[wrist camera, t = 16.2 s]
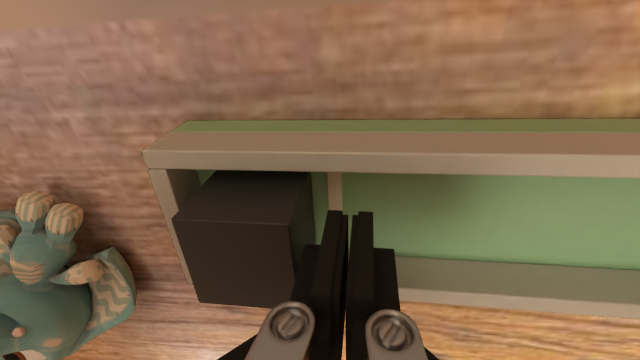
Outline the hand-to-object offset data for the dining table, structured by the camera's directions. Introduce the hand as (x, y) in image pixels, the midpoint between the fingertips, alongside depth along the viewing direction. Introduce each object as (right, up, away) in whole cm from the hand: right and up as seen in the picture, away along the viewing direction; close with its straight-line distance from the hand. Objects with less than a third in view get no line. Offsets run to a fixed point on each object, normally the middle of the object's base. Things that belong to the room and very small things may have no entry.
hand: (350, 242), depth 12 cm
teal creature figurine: (-15, +1, +4) cm, 16 cm away
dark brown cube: (-3, +1, +3) cm, 4 cm away
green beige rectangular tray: (+4, +2, +3) cm, 5 cm away
